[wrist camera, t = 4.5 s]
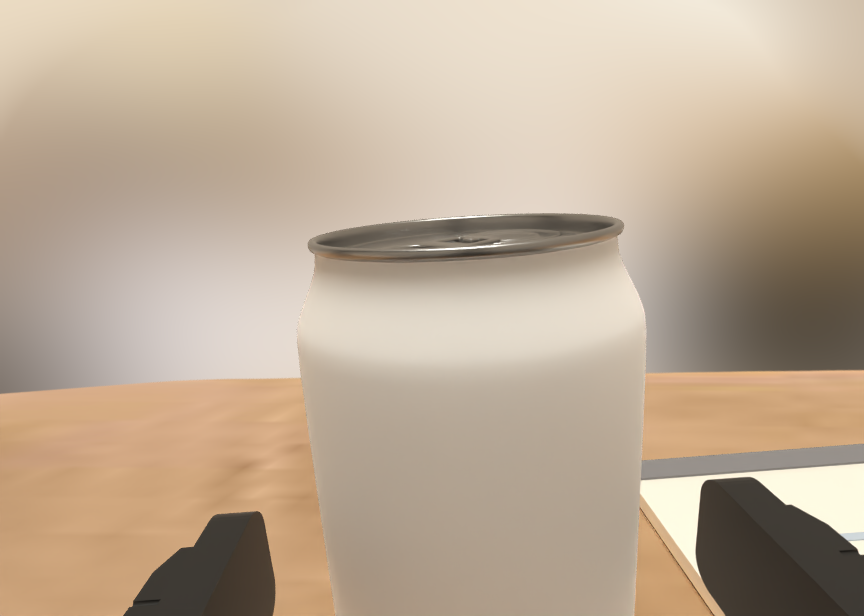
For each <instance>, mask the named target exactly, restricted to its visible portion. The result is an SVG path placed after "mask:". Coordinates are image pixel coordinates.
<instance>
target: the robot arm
mask: <svg viewBox="0 0 864 616" xmlns="http://www.w3.org/2000/svg"><path fill="white" fill-rule="evenodd" d="M695 554H696V562H697V566H698V570H699V573H700V576H701V578H702V581H703V583H704V585H705V587H706V588H707V590H708V592H709V593H710V594H711V596H712V597H713V599H714V600H715V601H716V603H717V604H718V606H719V607H720V609H721V610H722V611H723V613H724V614H725V616H864V555H860V554H859V552H858V549H857V548H856V547H855V546H853V545H852V544H851V543H850V542H849V541H847V540H846V539H845V538H844V537H843V536H841V535H840V534H839V533H838V532H837V531H835V530H834V529H833V528H832V527H831V526H829V525H828V524H827V523H825V522H823V521H821V520H819V519H817V518H815V517H814V516H812V515H810V514H808V513H806V512H804V511H803V510H801V509H799V508H797V507H795V506H793V505H786V504H784V503H783V502H782V501H781V500H780V499H779V498H778V497H776V496H775V495H774V494H773V493H772V492H771V491H770V490H769V489H767V488H766V487H765V486H764V485H763V484H762V483H761V482H759V481H758V480H757V479H755V478H753V477H738V478H724V479H711V480H706V481H705V482H704V483H703V484H702V487H701V492H700V503H699V514H698V526H697V537H696V549H695ZM274 604H275V578H274V573H273V567H272V562H271V556H270V551H269V545H268V540H267V535H266V529H265V524H264V519H263V516H262V514H261V513H260V512H258V511H256V512H242V513H228V514H217V515H215V516H213V517H212V518H211V520H210V521H209V523H208V524H207V526H206V527H205V529H204V531H203V532H202V534H201V536H200V537H199V539H198V540H197V542H196V544H195V545H194V547H187V548H181V549H179V550H178V551H177V552H176V553H175V554H174V555H173V556H171V557H170V558H169V559H168V560H167V561H166V562H165V563H163V564H162V565H161V566H160V567H159V568H158V569H156V570H155V571H154V572H153V573H152V575H151V576H150V578H149V579H148V581H147V582H146V583H145V585H144V586H143V588H142V589H141V591H140V592H139V594H138V595H137V597H136V598H135V600H134V601H133V606H132V607H129V608H128V610H127V611H126V613H125V614H124V616H273V611H274Z"/></svg>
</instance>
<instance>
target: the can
mask: <svg viewBox="0 0 864 616" xmlns="http://www.w3.org/2000/svg"><path fill="white" fill-rule="evenodd" d="M623 229H624V223H623V222H622V221H621V220H619V219H616V218H613V217H607V216H600V215H587V214H555V213H542V214H500V215H479V216H461V217H447V218H435V219H422V220H412V221H403V222H393V223H385V224H376V225H370V226H363V227H356V228H349V229H344V230H339V231H334V232H330V233H326V234H322V235H319V236H316V237H314V238H312V239H310V240H309V242H308V248H309V250H310V251H311V252H312V253H313V254H315V269H314V274H313V278H312V282H311V285H310V288H309V291H308V294H307V296H306V299H305V302H304V305H303V308H302V311H301V314H300V318H299V323H298V327H297V344H298V354H299V363H300V371H301V380H302V387H303V394H304V402H305V409H306V416H307V423H308V430H309V437H310V444H311V451H312V458H313V465H314V472H315V479H316V486H317V493H318V500H319V507H320V514H321V521H322V528H323V534H324V541H325V548H326V555H327V562H328V569H329V575H330V582H331V589H332V596H333V602H334V609H335V616H634V609H635V589H636V569H637V548H638V528H639V507H640V485H641V463H642V441H643V418H644V393H645V367H646V365H645V364H646V321H645V311H644V308H643V305H642V302H641V299H640V297H639V295H638V292H637V290H636V289H635V286H634V284H633V282H632V280H631V278H630V276H629V274H628V272H627V270H626V268H625V265H624V263H623V261H622V258H621V256H620V253H619V248H618V239H617V236H618V235H619V234H621V233H622V231H623Z"/></svg>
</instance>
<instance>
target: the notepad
mask: <svg viewBox="0 0 864 616" xmlns="http://www.w3.org/2000/svg"><path fill="white" fill-rule="evenodd" d="M738 477H753V478H755V479H757V480H758V481H759V482H761V483H762V484H763V485H764V486H765V487H766V488H767V489H769V490H770V491H771V492H772V493H773V494H774V495H775V496H776V497H778V498H779V499H780V500H781V501H782V502H783V503H784V504H786V505H793V506H795V507H797V508H799V509H801V510H803V511H804V512H806V513H808V514H810V515H812V516H814V517H815V518H817V519H819V520H821V521H823V522H825V523H827V524H828V525H829V526H831V527H832V528H833V529H834V530H835V531H837V532H838V533H839V534H840V535H841V536H843V537H844V538H845V539H846V540H847V541H849V542H850V543H851V544H852V545H853V546H855V547H856V548H857V549H858V552H859V554H860V555H864V444H854V445H841V446H828V447H815V448H801V449H788V450H775V451H762V452H749V453H736V454H722V455H709V456H696V457H683V458H670V459H656V460H643V461H642V463H641V485H640V508H641V509H642V511H643V512H644V514H645V515H646V517H647V518H648V520H649V521H650V523H651V524H652V526H653V527H654V528H655V530H656V531H657V533H658V534H659V536H660V537H661V539H662V540H663V542H664V543H665V544H666V546H667V547H668V549H669V550H670V552H671V553H672V555H673V556H674V558H675V559H676V560H677V562H678V563H679V565H680V566H681V568H682V569H683V571H684V572H685V574H686V575H687V576H688V578H689V579H690V581H691V582H692V584H693V585H694V587H695V588H696V590H697V591H698V593H699V594H700V595H701V597H702V598H703V600H704V601H705V603H706V604H707V606H708V607H709V609H710V610H711V611H712V613H713V614H714V616H725V614H724V613H723V611H722V610H721V609H720V607H719V606H718V604H717V603H716V601H715V600H714V599H713V597H712V596H711V594H710V593H709V592H708V590H707V588H706V587H705V585H704V583H703V581H702V578H701V576H700V573H699V570H698V566H697V562H696V554H695V549H696V537H697V526H698V514H699V503H700V492H701V487H702V484H703V483H704V482H705V481H706V480H711V479H724V478H738Z"/></svg>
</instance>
